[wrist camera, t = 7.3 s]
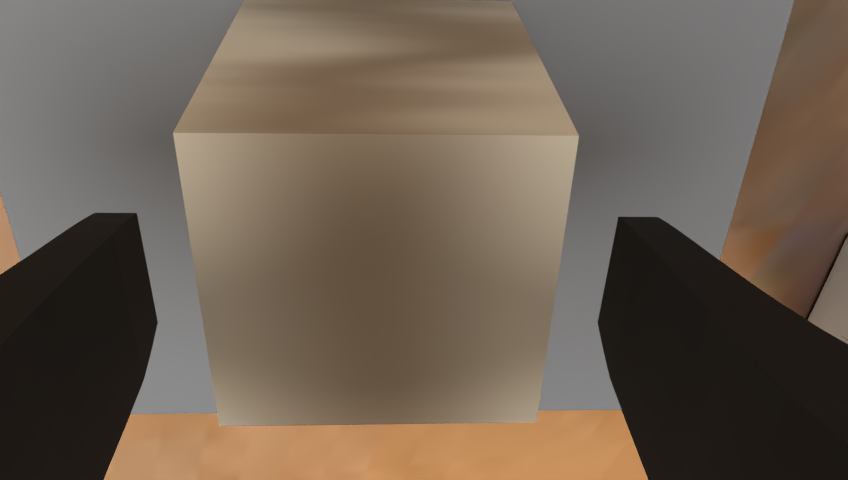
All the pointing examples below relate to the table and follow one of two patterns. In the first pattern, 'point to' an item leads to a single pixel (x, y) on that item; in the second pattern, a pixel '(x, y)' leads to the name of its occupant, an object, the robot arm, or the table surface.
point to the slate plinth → (535, 3)
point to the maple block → (376, 212)
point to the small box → (834, 300)
